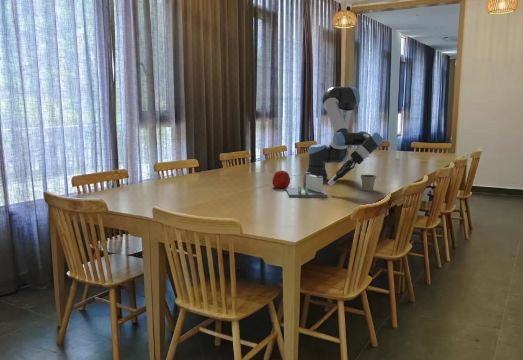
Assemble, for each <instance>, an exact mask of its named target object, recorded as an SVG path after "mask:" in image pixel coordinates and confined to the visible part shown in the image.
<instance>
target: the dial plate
mask: <svg viewBox="0 0 523 360" xmlns="http://www.w3.org/2000/svg"><path fill="white" fill-rule="evenodd" d="M285 191H286V194H287V195H288V197H289V198H328V193H327V192H326V191H325V189H323V192H316V191H313V190H310V189H308V187H307V186H306V187H305V188H303V187H302V186H301V185H299V186H298V187H285Z"/></svg>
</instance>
